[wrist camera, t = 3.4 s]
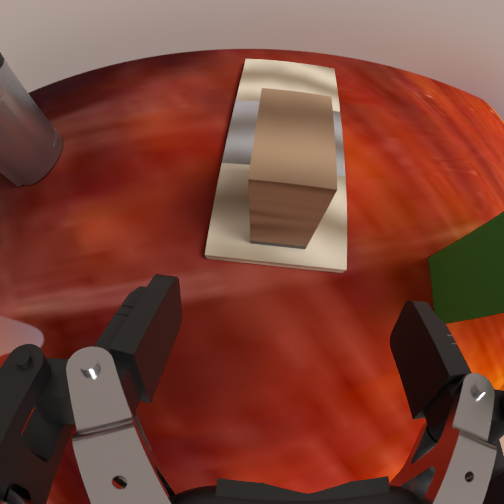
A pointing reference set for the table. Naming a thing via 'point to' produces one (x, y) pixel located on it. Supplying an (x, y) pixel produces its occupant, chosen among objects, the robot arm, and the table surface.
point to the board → (238, 165)
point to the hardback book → (470, 274)
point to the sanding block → (291, 167)
